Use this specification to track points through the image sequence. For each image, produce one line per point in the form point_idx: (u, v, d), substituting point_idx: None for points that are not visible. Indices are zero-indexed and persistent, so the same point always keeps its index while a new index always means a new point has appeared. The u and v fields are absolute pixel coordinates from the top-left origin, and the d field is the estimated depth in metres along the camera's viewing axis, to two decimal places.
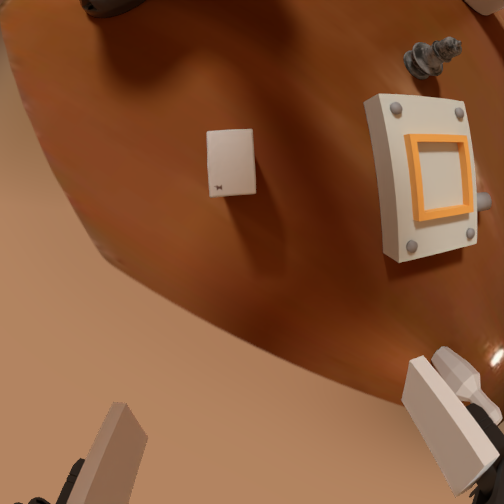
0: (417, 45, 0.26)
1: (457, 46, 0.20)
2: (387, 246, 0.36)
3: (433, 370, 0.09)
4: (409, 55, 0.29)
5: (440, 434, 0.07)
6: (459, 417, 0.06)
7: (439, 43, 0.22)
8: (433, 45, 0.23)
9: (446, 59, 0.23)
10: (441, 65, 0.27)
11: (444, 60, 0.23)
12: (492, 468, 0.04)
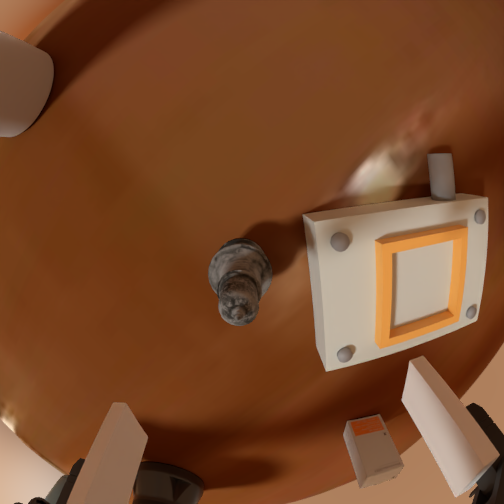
0: None
1: (245, 314, 0.18)
2: None
3: (433, 370, 0.09)
4: None
5: (440, 434, 0.07)
6: (459, 417, 0.06)
7: None
8: None
9: (257, 289, 0.22)
10: (245, 250, 0.25)
11: (260, 292, 0.22)
12: (492, 468, 0.04)
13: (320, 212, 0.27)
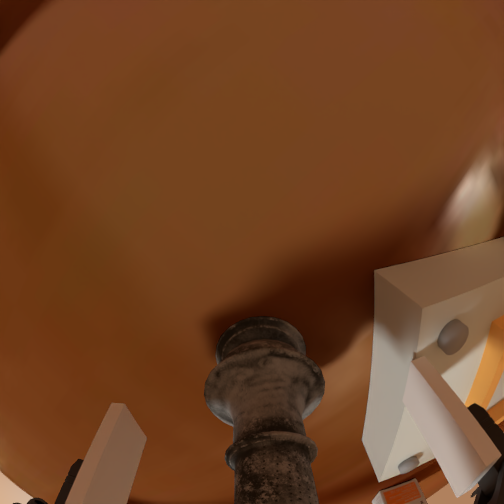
0: (229, 421, 0.12)
1: None
2: None
3: (435, 371, 0.09)
4: None
5: (442, 434, 0.07)
6: (461, 418, 0.06)
7: None
8: None
9: (309, 456, 0.08)
10: (278, 360, 0.11)
11: (313, 457, 0.08)
12: (494, 468, 0.04)
13: (404, 267, 0.14)
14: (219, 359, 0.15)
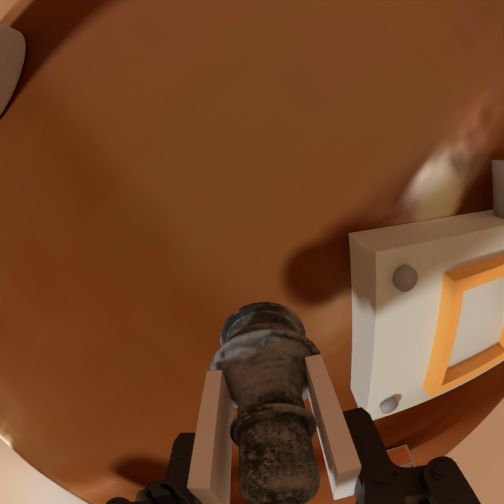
0: (233, 403, 0.14)
1: None
2: None
3: (325, 369, 0.11)
4: None
5: (321, 432, 0.09)
6: (330, 418, 0.08)
7: None
8: None
9: (309, 429, 0.09)
10: (279, 340, 0.12)
11: (312, 431, 0.10)
12: (359, 479, 0.06)
13: (372, 231, 0.19)
14: None
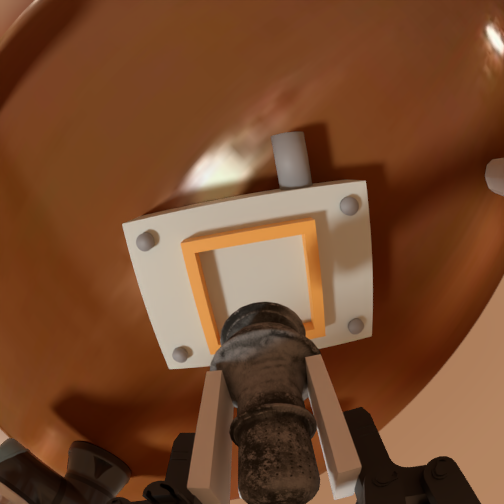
0: (233, 403, 0.14)
1: None
2: None
3: (326, 369, 0.11)
4: None
5: (321, 431, 0.09)
6: (330, 418, 0.08)
7: None
8: None
9: (308, 429, 0.09)
10: (279, 340, 0.12)
11: (313, 431, 0.09)
12: (359, 479, 0.06)
13: (153, 213, 0.27)
14: (223, 344, 0.16)
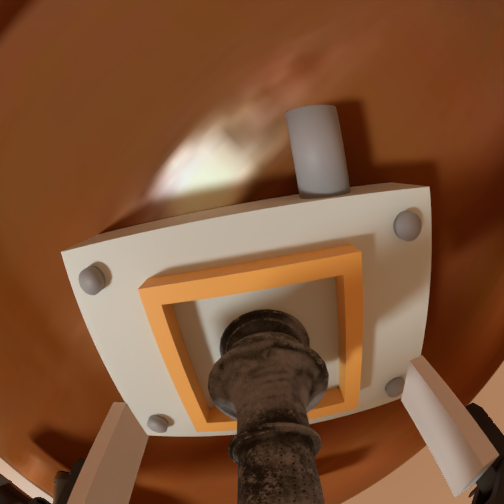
0: (233, 415, 0.13)
1: None
2: None
3: (433, 370, 0.09)
4: None
5: (439, 434, 0.07)
6: (458, 417, 0.06)
7: None
8: None
9: (313, 448, 0.08)
10: (282, 352, 0.11)
11: (317, 449, 0.08)
12: (492, 468, 0.04)
13: (112, 231, 0.18)
14: (223, 353, 0.15)
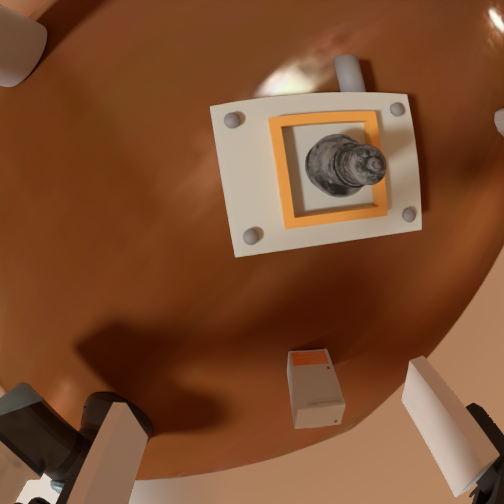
0: (320, 184, 0.24)
1: (379, 167, 0.16)
2: None
3: (433, 370, 0.09)
4: None
5: (440, 434, 0.07)
6: (459, 417, 0.06)
7: (354, 182, 0.19)
8: (349, 185, 0.20)
9: None
10: (346, 140, 0.22)
11: None
12: (492, 468, 0.04)
13: None
14: (307, 165, 0.27)
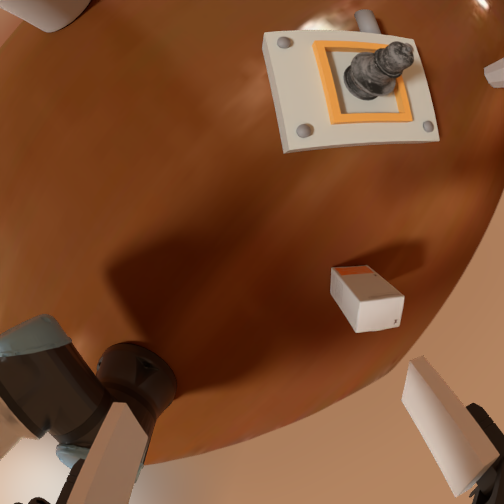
0: (361, 84, 0.25)
1: (410, 53, 0.17)
2: (419, 142, 0.33)
3: (433, 370, 0.09)
4: (356, 90, 0.28)
5: (440, 434, 0.07)
6: (459, 417, 0.06)
7: (392, 69, 0.20)
8: (387, 75, 0.21)
9: None
10: None
11: None
12: (492, 468, 0.04)
13: None
14: (345, 78, 0.28)
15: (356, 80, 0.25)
